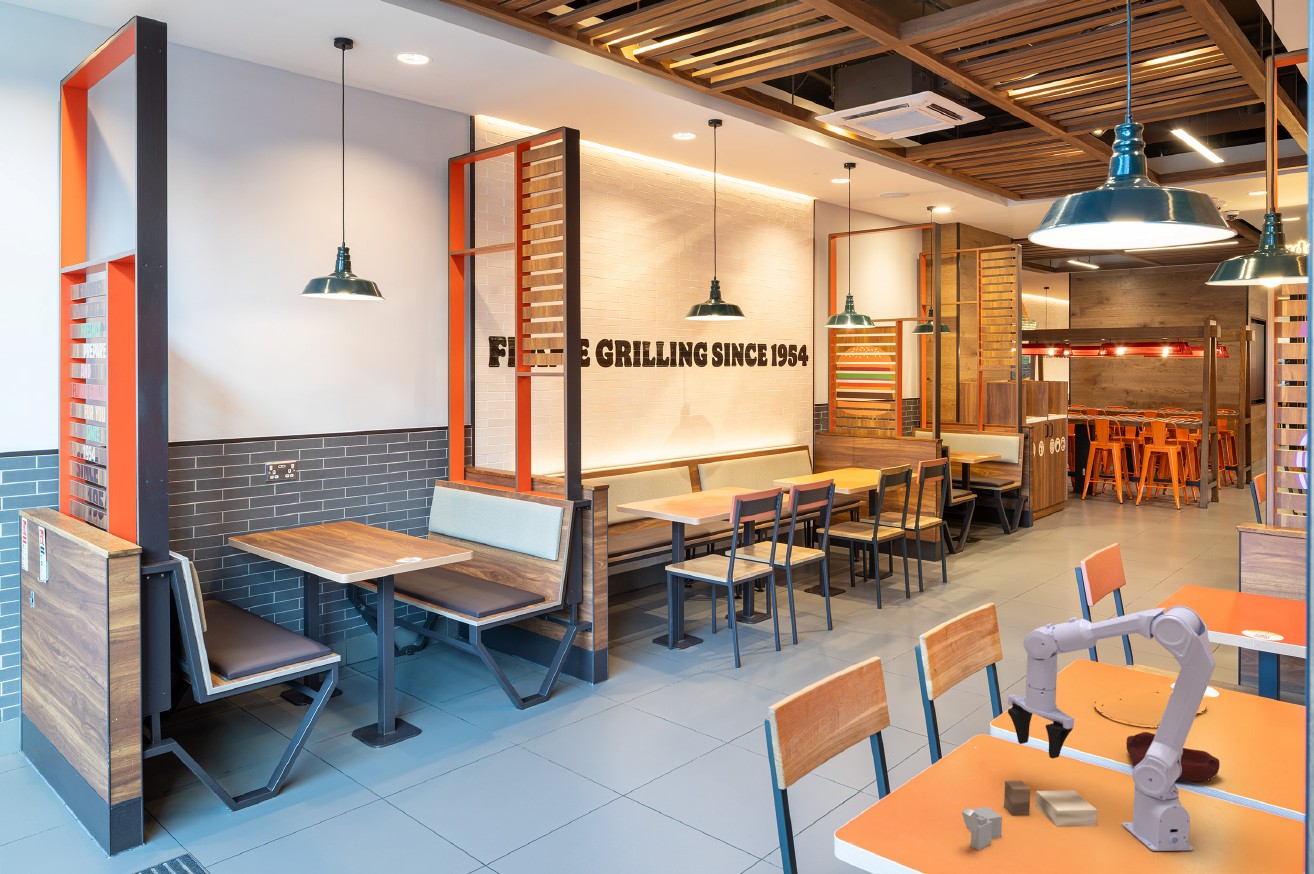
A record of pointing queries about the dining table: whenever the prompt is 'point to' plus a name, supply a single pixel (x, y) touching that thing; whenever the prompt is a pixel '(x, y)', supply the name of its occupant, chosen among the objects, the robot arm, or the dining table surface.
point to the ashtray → (1192, 761)
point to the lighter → (978, 829)
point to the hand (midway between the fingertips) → (1038, 749)
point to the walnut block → (1017, 798)
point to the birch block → (1066, 808)
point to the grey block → (992, 817)
